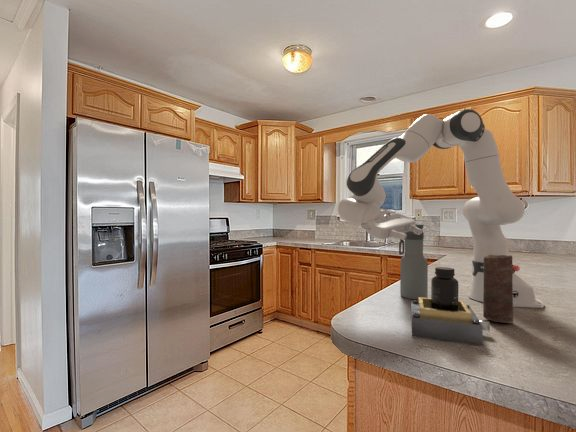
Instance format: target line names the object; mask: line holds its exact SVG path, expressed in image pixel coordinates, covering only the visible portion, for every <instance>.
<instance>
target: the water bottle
mask: <svg viewBox="0 0 576 432" xmlns="http://www.w3.org/2000/svg"><path fill="white" fill-rule="evenodd" d="M415 226H416V227H417V228H419V229H422V234H420V235H417V234H414V232H412V231H409V232H405V234H407V238H406V239H404V240H401V239H399V242H398V255H400V256H401V255H402V256H401V258H400V261H399V262H400V265H399V266H400V267H399V268H400V279H399V282H400V293H399V294H400V295H401V297H403V298H405V299H408V300H417V301H418V297H422V298H428V292H429V291H428V290H429V289H428V278H429V277H428V274H429V271H428V266H429V265H428V264H429V262H428V258H427V257H425V256H424V238H425V236H424V235H425V233H424V231H423V229H424V224H416V223H415ZM403 254H404V255H403Z"/></svg>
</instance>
